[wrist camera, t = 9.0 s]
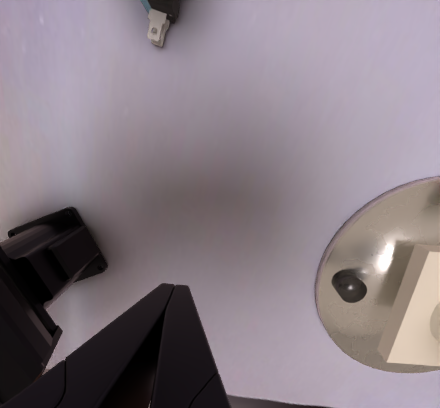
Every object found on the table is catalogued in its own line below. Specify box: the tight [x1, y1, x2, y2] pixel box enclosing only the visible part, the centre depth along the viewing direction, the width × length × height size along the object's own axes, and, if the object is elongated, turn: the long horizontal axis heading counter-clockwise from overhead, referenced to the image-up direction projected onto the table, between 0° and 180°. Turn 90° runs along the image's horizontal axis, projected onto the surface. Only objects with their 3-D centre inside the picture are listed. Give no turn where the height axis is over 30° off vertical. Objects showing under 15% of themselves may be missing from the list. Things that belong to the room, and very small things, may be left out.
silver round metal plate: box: [315, 177, 440, 373], centre depth 21 cm, size 20×20×3 cm
